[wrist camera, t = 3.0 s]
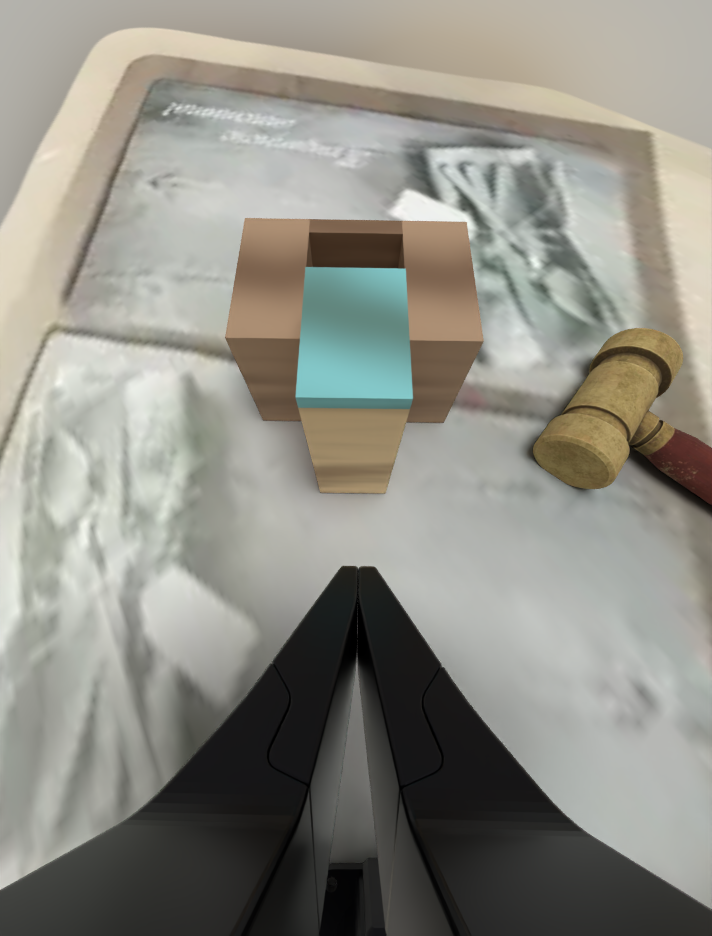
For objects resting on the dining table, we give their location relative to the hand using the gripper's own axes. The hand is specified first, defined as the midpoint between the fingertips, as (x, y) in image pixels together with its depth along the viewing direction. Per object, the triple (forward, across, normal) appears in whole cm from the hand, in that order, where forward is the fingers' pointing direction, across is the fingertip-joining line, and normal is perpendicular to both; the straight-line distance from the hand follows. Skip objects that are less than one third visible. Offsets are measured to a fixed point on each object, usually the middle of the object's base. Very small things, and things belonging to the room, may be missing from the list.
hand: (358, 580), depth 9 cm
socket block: (+19, 0, -2) cm, 20 cm away
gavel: (+14, -22, +5) cm, 26 cm away
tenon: (+15, 0, +2) cm, 15 cm away
